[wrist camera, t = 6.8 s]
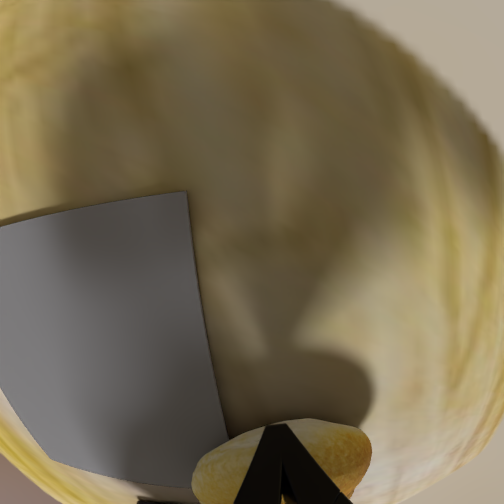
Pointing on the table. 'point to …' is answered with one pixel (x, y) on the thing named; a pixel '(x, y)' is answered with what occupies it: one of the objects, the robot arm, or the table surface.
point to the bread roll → (314, 440)
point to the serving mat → (110, 339)
